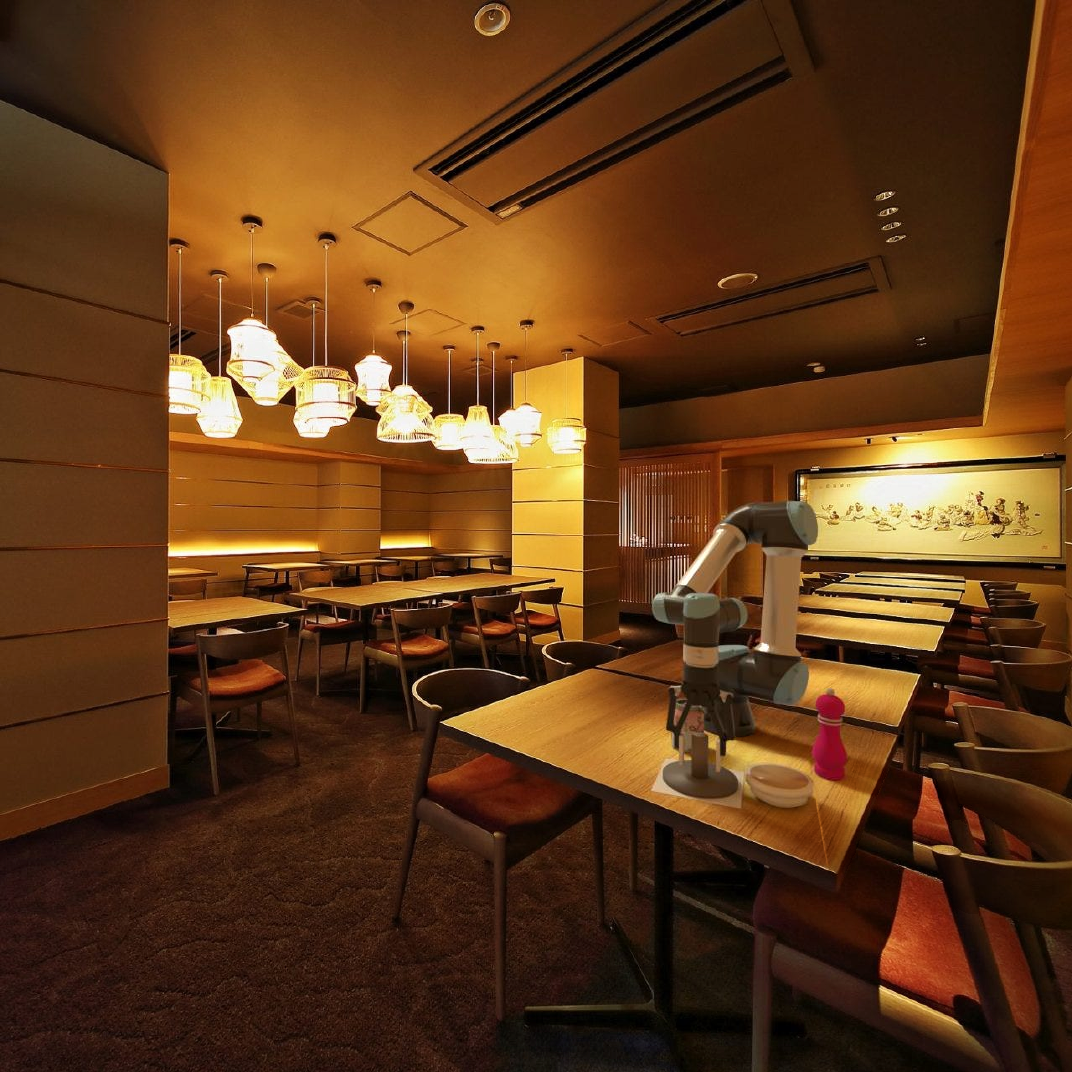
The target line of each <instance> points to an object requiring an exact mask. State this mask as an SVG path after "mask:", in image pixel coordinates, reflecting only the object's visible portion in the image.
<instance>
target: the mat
mask: <svg viewBox="0 0 1072 1072" xmlns="http://www.w3.org/2000/svg"><path fill="white" fill-rule="evenodd" d="M676 761H679V759H673V758H665V759H664V761H663V763H662V765H661V768H660V769H659V771H658V774H657V776H656V779H655V781H654V783H653V785H652V788H651V790H650V791H651V792H655V793H658V794H664V795H670V796H673V797H679V798H684V799H690V800H695V801H699V802H704V803H708V804H714V805H718V806H724V807H730V808H735V809H740V810H741V809H742V801H743V791H744V790H743V789H744V781H745V770H744V771H742V770H737V769H731V768H727V769H728V770H729V771H731V772H732V773H733V774H734V775H735V776H736V777H737V779H738V789H737V791H736V792H735V793H734V794H733V795H731V796H728V797H725V798H718V799H705V798H697V797H692V796H688V795H685V794H682V793H680V792H677V791H675V790H673V789H672V788H670V787H669V786H668V785H667V784H666V783H665V782H664V780H663V769H664V767H665V766H666V765H668V764H670V763H672V762H676Z"/></svg>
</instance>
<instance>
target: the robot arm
mask: <svg viewBox="0 0 1072 1072" xmlns="http://www.w3.org/2000/svg"><path fill="white" fill-rule="evenodd" d="M818 523H819V522H818V519H817V516H816V512H815V511H814V509H813V506H811V505H810V504H809V503H808V502H806V501H801V500H799V501H798V500H797V501H796V500H795V501H794V500H793V501H792V500H785V501H783V500H782V501H766V502H761V501H760V502H758V501H757V502H750V503H746V504H744V505H741V506H739V507H737V508H735V509H733V510H732V511H731V512H730V513H728V514H727V515H725V517H723V518H722V519H721V520H720V521H719V522H718V524H717V525H716V526H715V527H714V529H713V531H712V537H711V539H710V540H709V541H708V542H707V544H706V545H705V547H704V548H703V549H702V550H701V552H700V553H699V554H698V555H697V557H696V558H695V559H694V561H693V562H692V564H691V565H690V566H689V568H687V570H686V572H685V573H684V574H683V575H682V577H681V578H680V580H679V581H678V582H677V583H676V585H675V586H674V587H673V589H672V590H671V591H670V592H667V591H666V592H659V593H657V594H656V595H655V596H654V598H653V599H652V600H653V601H652V606H651V610H652V611H651V612H652V614H653V617H654V618H655V619H656V620H657V621H659V622H662V623H666V624H670V625H679V626H683V641H682V642H683V649H682V651H683V653H682V655H683V656H682V657H683V658H682V660H683V661H684V663H683V665H682V683H681V685H673V684H671V685H670V687H669V688H668V695H669V702H668V703H669V704H668V711H667V712H668V713H667V717H666V725H665V729H666V731H667V732H670V733H671V732H673V733H674V747H675V748H676V749H679V751H678V760H679V765H681V766H682V765H683V763H684V760H685V752H684V732H681V729H682V727H683V724H684V722H685V720H686V717H687V715H688V713H689V710H690V708H691V706H692V705H693V706H702V707H703V708H704V709H705V710H706V711H707V713H706V715H704V731H707V732H710V733H712V734H716V735H718V737H717V738H716V742H715V745H716V747H715V749H716V750H715V764H716V772H720V768H721V766H722V757H726V754H727V742H728V741H734V740H735V738H736V737H744V736H745V737H746V736H750V735H752V734H754V733H755V732H756V721H755V718H754V715H753V712H752V708H751V706H750V705H751V704H750V702H749V701H750V700H749V697H750V698H755V699H759V700H763V701H768V702H771V703H774V704H775V705H782V706H783V705H785V706H788V707H789V706H795V705H797V704H798V703H800V701H801V700H802V699H803V697H804V695H805V694H806V690H807V689H808V684H809V679H810V672H809V667H808V664H807V663H805V662H803V661H802V654H801V652H800V651H799V650H798V649H797V648H796V644H797V643H796V641H797V640H796V639H797V628H798V627H797V625H798V611H799V596H800V582H801V581H800V580H801V579H800V578H801V567H802V566H801V564H802V558H803V557H804V556H805V555H806V554H808V552H809V546H812V545H814V544H816V543H817V540H818V537H819V524H818ZM752 544H761V547H760V548H761V551H762V552H763V553H764V554H765V556H766V559H765V560H766V561H765V574H764V587H763V588H764V591H763V601H762V614H761V615H762V617H761V628H760V630H761V631H760V642H759V644H757V645H756V646H755V647H753V648H754V649H753V653H750V652H751V650H750V647H748V646H746V645H742V644H725V645H719V644H720V643H719V642H720V641H719V638H720V636H719V635H720V634H722V633H726V632H733V631H736V630H737V629H739V628H742V627H743V626H744V625H745V624H746V622H747V620H748V616H749V615H748V610H747V609H748V608H747V607H746V605H745V604H744V603H743V602H742V601H741V600H740V599H738V598H735V597H723V598H719V596H718V595H717V594H715V593H709V591H710V590H711V588H712V587H713V586H714V584H715V583H716V582H717V581H718V579H719V578H720V576H721V574H723V571H724V570H725V568H726V567H727V566H728V565H729V564H730V562H731V560H732V559H733V558H734V556H735V555H736V554H737V553H738V552H740V551H743V550H744V549H745V547H746V546H748V545H752ZM680 693H682V694H683V695H684V697H685V699H687V703H686V705H685V707H684V710H683V712H682V714H681V717H680V719H679V721H678V724H677V726H675V725H673V723H674V716H675V709H676V702H677V700H678V697H679V696H680ZM676 749H675V750H676Z"/></svg>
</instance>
